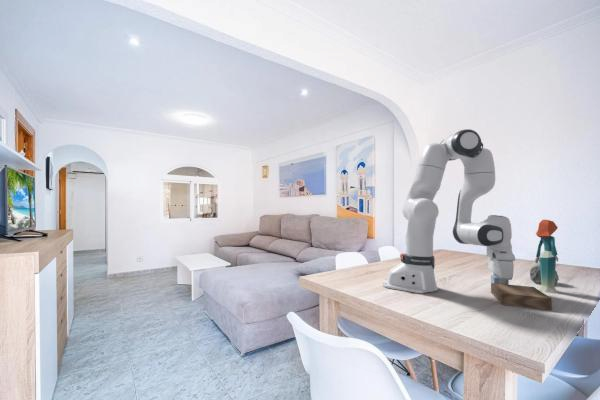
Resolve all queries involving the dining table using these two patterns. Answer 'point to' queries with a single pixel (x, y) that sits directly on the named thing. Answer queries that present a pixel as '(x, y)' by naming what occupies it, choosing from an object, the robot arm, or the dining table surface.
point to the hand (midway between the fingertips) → (499, 284)
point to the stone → (539, 275)
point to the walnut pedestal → (521, 296)
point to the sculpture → (547, 255)
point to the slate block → (497, 280)
